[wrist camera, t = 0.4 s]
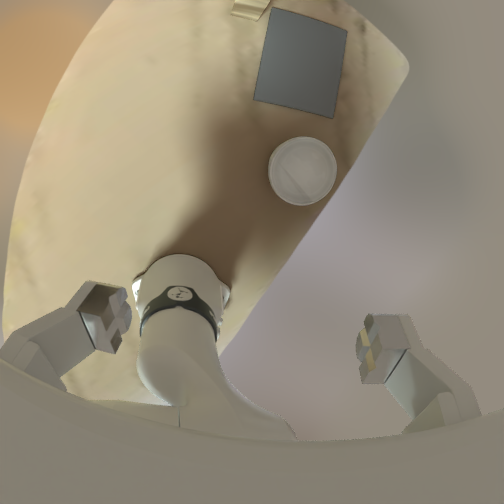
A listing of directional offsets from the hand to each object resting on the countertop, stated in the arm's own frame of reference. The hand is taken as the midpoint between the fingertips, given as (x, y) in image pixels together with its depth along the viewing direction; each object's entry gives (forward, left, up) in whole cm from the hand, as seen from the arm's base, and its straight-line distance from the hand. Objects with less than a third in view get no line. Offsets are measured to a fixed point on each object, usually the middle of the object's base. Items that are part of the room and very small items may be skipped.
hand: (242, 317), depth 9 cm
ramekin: (+1, -15, -40) cm, 43 cm away
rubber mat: (+20, -13, -40) cm, 46 cm away
